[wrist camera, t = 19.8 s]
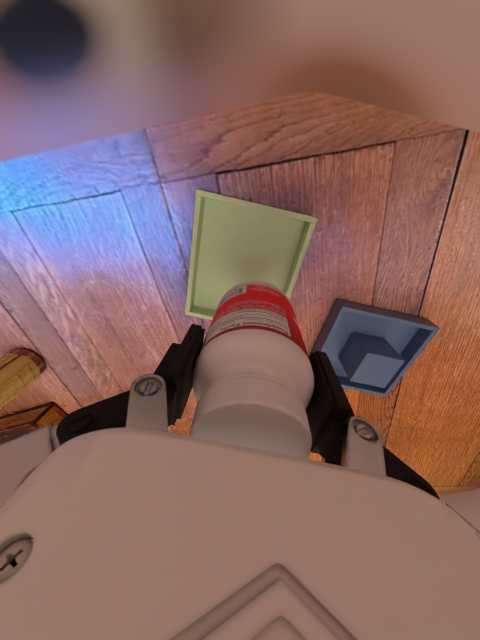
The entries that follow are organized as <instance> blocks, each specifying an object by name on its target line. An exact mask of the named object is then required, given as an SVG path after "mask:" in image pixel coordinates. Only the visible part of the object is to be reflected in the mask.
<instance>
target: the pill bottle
mask: <svg viewBox="0 0 480 640" xmlns="http://www.w3.org/2000/svg"><path fill="white" fill-rule="evenodd" d="M192 381H193V389H194V392H195V395H196V398H197V400H198V403H197V406H196V410H195V415H194V419H193V422H192V426H191V430H190V436H192V437H197V438H202V439H208V440H213V441H218V442H223V443H228V444H234V445H239V446H244V447H249V448H254V449H259V450H264V451H269V452H274V453H279V454H284V455H290V456H295V457H300V458H304V459H306V458H307V457H308V455H309V453H310V451H311V446H312V437H311V432H310V428H309V423H308V418H307V414H306V410H305V409H306V408H307V406H308V404H309V403H310V400H311V398H312V395H313V391H314V375H313V371H312V367H311V363H310V359H309V357H308V354H307V351H306V348H305V345H304V342H303V338H302V335H301V332H300V329H299V326H298V323H297V320H296V317H295V314H294V311H293V308H292V305H291V303H290V300H289V299H288V297H287V296H286V294H285V293H284V292H283V291H282V290H281V289H279V288H278V287H276V286H275V285H273V284H270V283H268V282H264V281H258V280H252V281H246V282H242V283H239V284H237V285H235V286H233V287H232V288H231V289H229V290H228V291H227V292H226V293H225V294H224V296H223V297H222V299H221V300H220V302H219V304H218V307H217V309H216V312H215V315H214V317H213V320H212V322H211V325H210V327H209V330H208V332H207V335H206V337H205V340H204V342H203V345H202V347H201V349H200V352H199V354H198V356H197V359H196V362H195V366H194V370H193V377H192Z"/></svg>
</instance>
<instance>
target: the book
mask: <svg viewBox="0 0 480 640" xmlns="http://www.w3.org/2000/svg"><path fill="white" fill-rule="evenodd" d="M66 416H67V414H66V413H65V412H64V411H63V410H62V409H60V408H59V407H58V406H57V405H56V404H55V403H54V402H52V403H48V404H44V405H41V406H37V407H34V408H30V409H27V410H23V411H20V412H16V413H13V414H9V415H6V416H2V417H0V444H2V443H5V442H7V441H10V440H12V439H15V438H18V437H20V436H23V435H25V434H28V433H30V432H33V431H36V430H38V429H41V428H43V427H46V426H48V425H49V427H50V428H51V427H54V426H56V425H59V423H60V422H61V421H62V419H63V418H64V417H66Z"/></svg>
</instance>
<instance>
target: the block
mask: <svg viewBox="0 0 480 640" xmlns="http://www.w3.org/2000/svg"><path fill="white" fill-rule="evenodd" d="M338 359H339V361H340V363H341V364H342V366H343V368H344V370H345V372H346V374H347V376H348V378H349V380H350V381H353V382H358V383H362V384H367V385H372V386H376V387H381V388H385V387H386V385H387V384H388V383H389V382H390V380H391V379H392V378H393V376H394V375H395V374H396V372H397V371H398V370H399V368H400V367H401V366H402V364H403V363H404V362H405V360H404V359H403V358H402V357H401V356H400V355H399V354H398V353H397V352H396V350H395V349H394V348H393V347H392V346H391V345H390V344H389V343H388V342H387V341H386V340H385V339H383V338H378V337H373V336H369V335H364V334H360V333H355V332H352V334H351V336H350V337H349V339H348V341H347V343H346V345H345V346H344V348H343V350H342V352H341V354H340V355H339V357H338Z"/></svg>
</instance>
